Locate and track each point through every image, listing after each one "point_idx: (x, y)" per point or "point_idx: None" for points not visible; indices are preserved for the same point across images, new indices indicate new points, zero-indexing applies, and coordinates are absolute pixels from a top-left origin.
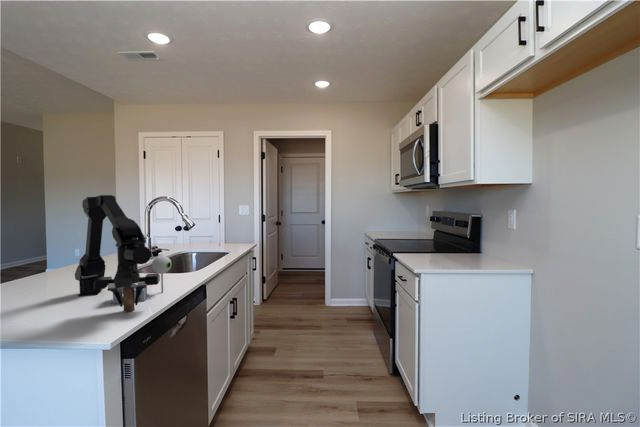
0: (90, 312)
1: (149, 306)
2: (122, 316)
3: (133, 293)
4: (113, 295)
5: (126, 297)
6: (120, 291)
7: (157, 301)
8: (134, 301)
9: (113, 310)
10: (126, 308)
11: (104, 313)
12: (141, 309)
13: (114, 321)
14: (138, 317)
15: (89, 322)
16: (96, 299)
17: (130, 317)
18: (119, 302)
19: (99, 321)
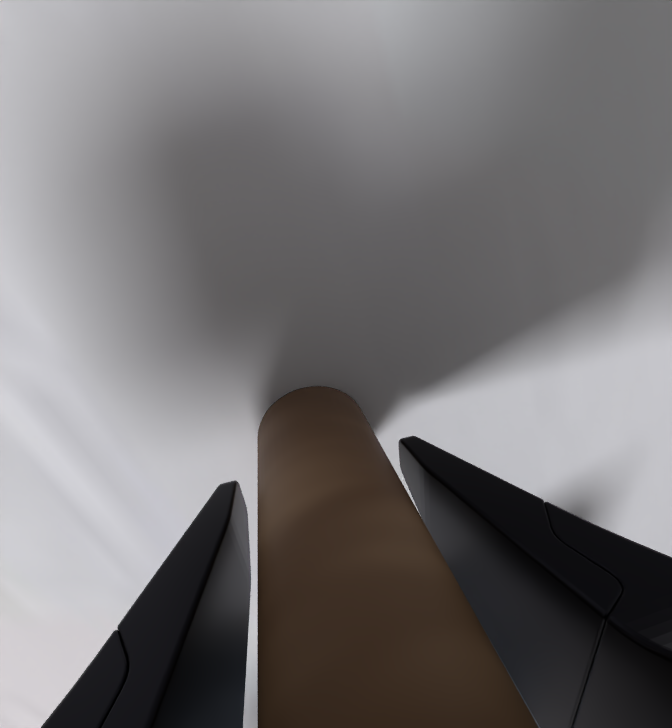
0: (633, 411)
1: (136, 545)
2: (312, 241)
3: (258, 700)
4: None
5: (373, 540)
6: (582, 709)
7: None
8: None
9: (468, 446)
10: (330, 410)
11: (528, 375)
12: (182, 463)
13: (346, 15)
14: (16, 128)
15: (634, 87)
16: None
17: (170, 165)
18: (454, 464)
19: (538, 92)
